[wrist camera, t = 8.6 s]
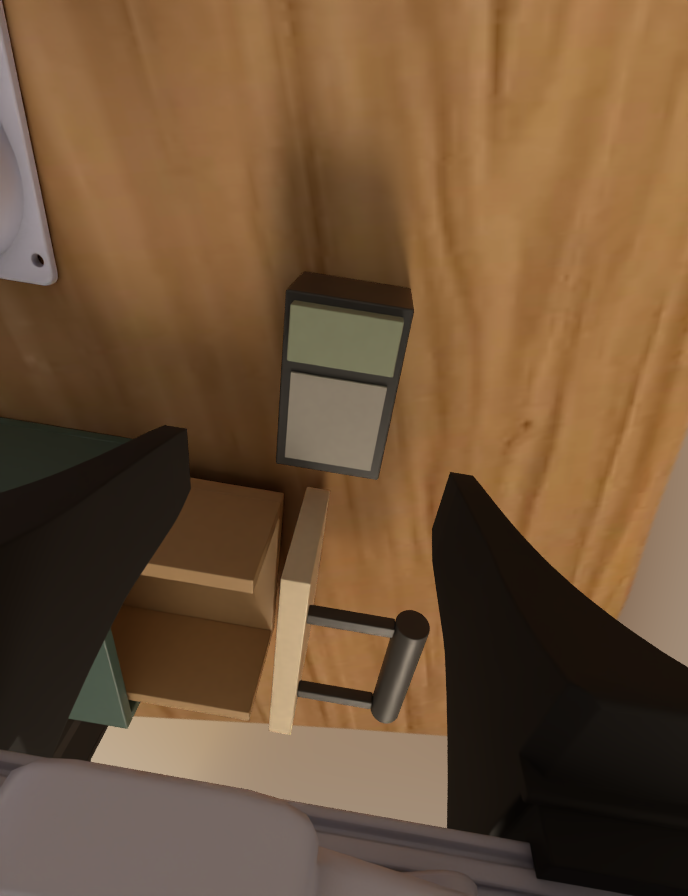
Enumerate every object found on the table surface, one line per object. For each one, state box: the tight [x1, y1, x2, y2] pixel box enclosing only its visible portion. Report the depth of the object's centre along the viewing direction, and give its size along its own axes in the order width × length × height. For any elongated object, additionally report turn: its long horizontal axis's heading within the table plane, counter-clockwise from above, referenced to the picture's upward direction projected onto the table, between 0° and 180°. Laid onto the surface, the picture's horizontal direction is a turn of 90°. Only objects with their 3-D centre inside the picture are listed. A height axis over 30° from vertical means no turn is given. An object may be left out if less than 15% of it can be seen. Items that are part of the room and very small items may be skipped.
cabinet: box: [0, 417, 140, 728], centre depth 23 cm, size 14×13×8 cm
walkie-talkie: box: [52, 719, 108, 762], centre depth 28 cm, size 5×3×20 cm
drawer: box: [111, 478, 430, 735], centre depth 23 cm, size 19×12×6 cm, turn 82°
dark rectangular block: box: [276, 272, 414, 480], centre depth 18 cm, size 4×7×4 cm, turn 172°
